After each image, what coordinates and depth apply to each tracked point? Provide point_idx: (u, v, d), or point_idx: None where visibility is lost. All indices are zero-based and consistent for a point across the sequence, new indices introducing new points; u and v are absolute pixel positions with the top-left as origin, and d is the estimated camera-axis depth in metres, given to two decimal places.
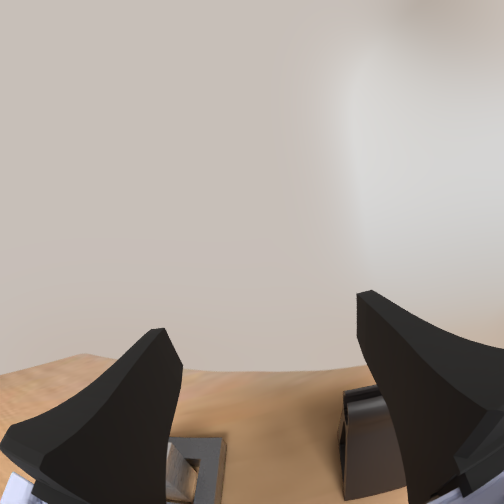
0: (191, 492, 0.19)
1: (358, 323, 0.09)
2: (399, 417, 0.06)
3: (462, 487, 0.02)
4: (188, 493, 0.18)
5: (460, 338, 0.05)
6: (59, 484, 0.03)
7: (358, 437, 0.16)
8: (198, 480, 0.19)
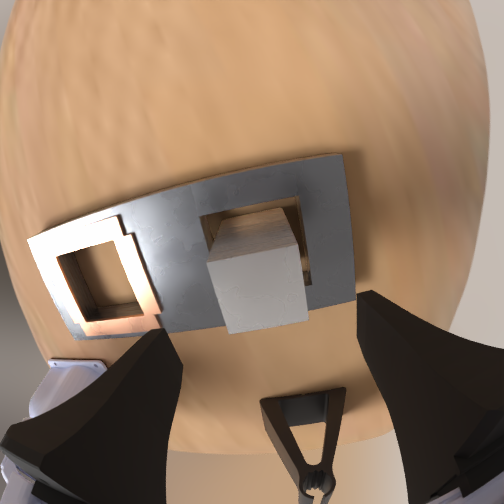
0: None
1: (358, 323, 0.09)
2: (399, 417, 0.06)
3: (461, 488, 0.02)
4: None
5: (460, 338, 0.05)
6: (59, 484, 0.03)
7: (295, 470, 0.18)
8: None
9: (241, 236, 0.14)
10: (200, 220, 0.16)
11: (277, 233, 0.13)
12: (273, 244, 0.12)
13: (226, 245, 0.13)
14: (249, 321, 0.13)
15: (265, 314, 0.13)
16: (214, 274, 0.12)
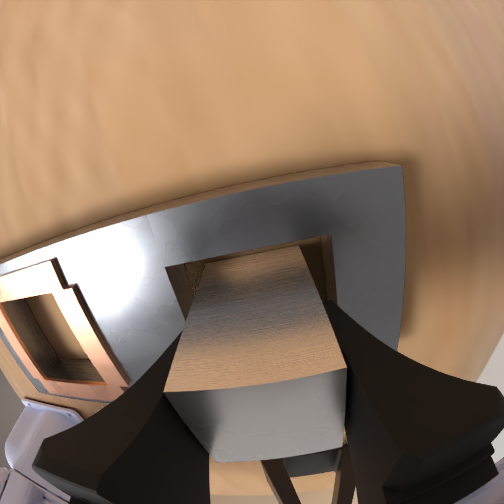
0: None
1: None
2: (349, 433, 0.06)
3: None
4: None
5: (407, 359, 0.05)
6: None
7: None
8: None
9: (232, 320, 0.08)
10: (168, 272, 0.10)
11: (299, 320, 0.07)
12: (295, 358, 0.06)
13: (205, 342, 0.07)
14: (246, 454, 0.07)
15: (274, 448, 0.06)
16: (181, 407, 0.06)
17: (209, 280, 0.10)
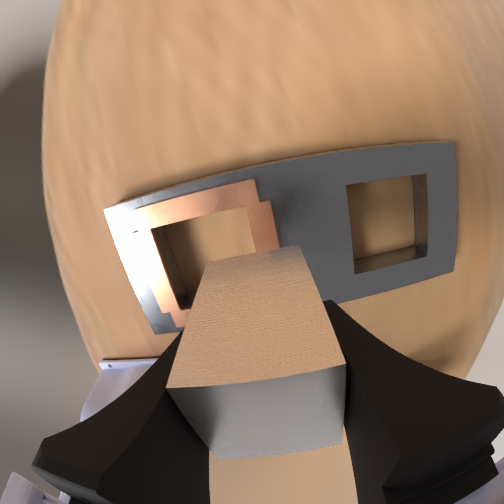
0: None
1: None
2: (349, 433, 0.06)
3: None
4: None
5: (407, 359, 0.05)
6: None
7: None
8: (394, 267, 0.17)
9: (234, 317, 0.08)
10: (345, 189, 0.16)
11: (299, 318, 0.07)
12: (295, 355, 0.06)
13: (207, 339, 0.07)
14: (247, 450, 0.07)
15: (274, 444, 0.07)
16: (183, 403, 0.06)
17: (210, 279, 0.10)
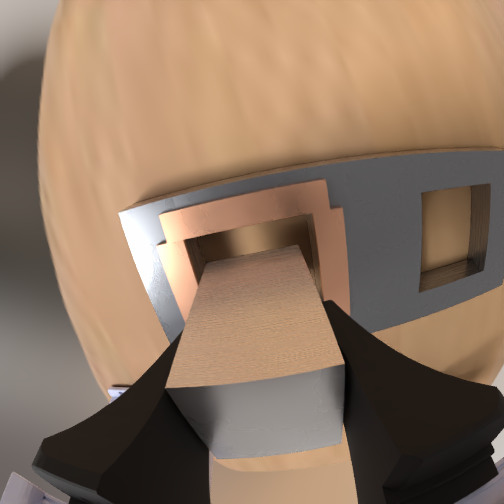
0: None
1: None
2: (349, 433, 0.06)
3: None
4: None
5: (407, 359, 0.05)
6: None
7: None
8: (454, 283, 0.14)
9: (233, 318, 0.08)
10: None
11: (299, 318, 0.07)
12: (294, 355, 0.06)
13: (206, 339, 0.07)
14: (247, 450, 0.07)
15: (274, 444, 0.07)
16: (182, 403, 0.06)
17: (210, 279, 0.10)
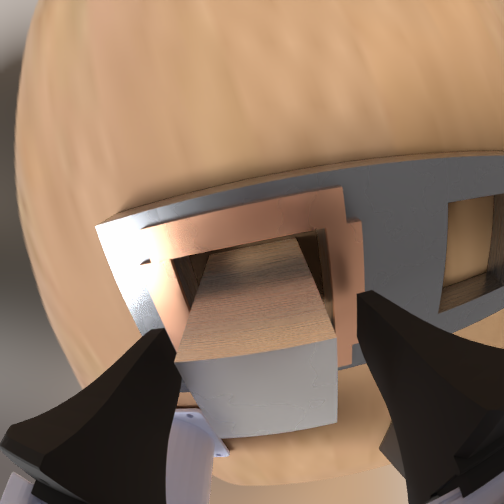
0: None
1: (358, 323, 0.09)
2: (399, 417, 0.06)
3: (462, 487, 0.02)
4: None
5: (460, 338, 0.05)
6: (59, 484, 0.03)
7: None
8: (475, 301, 0.12)
9: (236, 301, 0.09)
10: None
11: (295, 300, 0.08)
12: (291, 331, 0.07)
13: (211, 320, 0.08)
14: (248, 428, 0.07)
15: (273, 421, 0.07)
16: (189, 377, 0.07)
17: (213, 269, 0.11)
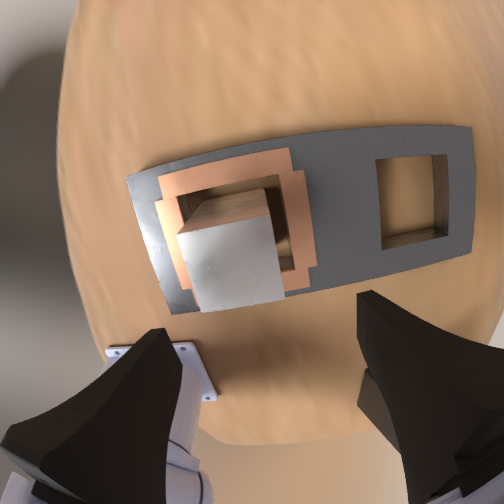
0: None
1: (358, 323, 0.09)
2: (399, 417, 0.06)
3: (462, 487, 0.02)
4: None
5: (460, 338, 0.05)
6: (59, 484, 0.03)
7: None
8: (418, 244, 0.17)
9: (216, 212, 0.14)
10: None
11: (252, 207, 0.13)
12: (245, 216, 0.12)
13: (200, 219, 0.13)
14: (221, 299, 0.13)
15: (238, 291, 0.12)
16: (184, 247, 0.12)
17: (205, 204, 0.16)
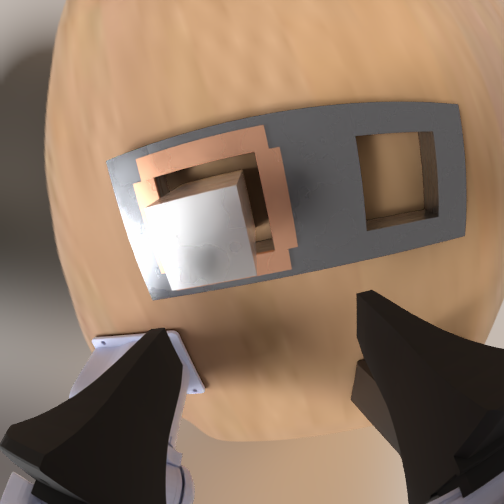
0: None
1: (358, 323, 0.09)
2: (399, 417, 0.06)
3: (462, 488, 0.02)
4: None
5: (460, 338, 0.05)
6: (59, 484, 0.03)
7: None
8: (406, 225, 0.16)
9: (189, 189, 0.13)
10: (354, 140, 0.15)
11: (223, 182, 0.12)
12: (213, 188, 0.11)
13: (171, 196, 0.12)
14: (191, 275, 0.12)
15: (207, 267, 0.12)
16: (152, 220, 0.11)
17: (182, 186, 0.16)
